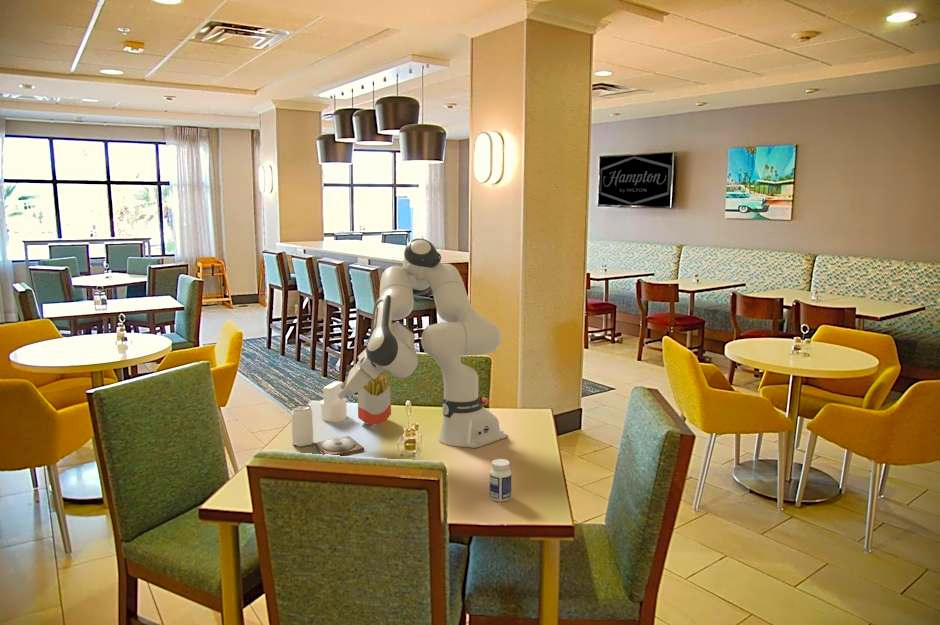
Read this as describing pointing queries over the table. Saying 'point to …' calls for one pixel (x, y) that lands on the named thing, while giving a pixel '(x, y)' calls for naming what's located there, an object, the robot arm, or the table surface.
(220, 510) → the table surface
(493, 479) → the pill bottle
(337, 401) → the base with upright slab
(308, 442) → the can
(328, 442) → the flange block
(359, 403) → the french fries container
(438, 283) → the robot arm
